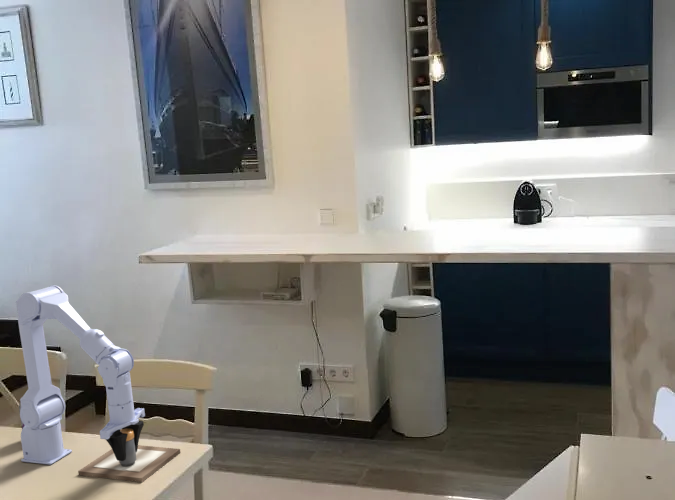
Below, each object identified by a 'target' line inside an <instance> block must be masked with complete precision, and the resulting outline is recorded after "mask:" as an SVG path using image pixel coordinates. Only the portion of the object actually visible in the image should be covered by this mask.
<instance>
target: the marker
mask: <svg viewBox="0 0 675 500" xmlns="http://www.w3.org/2000/svg"><path fill="white" fill-rule="evenodd" d="M120 432H122V433H127V434H128V435H127V439H126V460H124V461H119V463H120V464H121V466H123V467H128V466H132V465H134V464H135V461H136V451H135V443H134V431H133V429H121V430H120Z"/></svg>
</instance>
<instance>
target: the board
mask: <svg viewBox="0 0 675 500" xmlns="http://www.w3.org/2000/svg"><path fill="white" fill-rule="evenodd" d="M179 454H181V449H180V448H173V447H172V448H171V447H162V446H161V447H160V446H152V445H140V444H138V449H137V452H136V461H135V464H134V465H132V466H128V467H123V466H121V464H120V463H119V461H118V460H117V459H116V457H115V454H114V452H113V450H112V448H110V449H109V450H108V451H106V452H105V453H103V454H102V455H100V456H99V457H97V458H96V459H94V460H93V461H91V462H90V463H88V464H86V465H85V466H84V467H82V468H81V469H79V470H78V471H77V474H78V476H83V477H93V478H100V479H101V478H102V479H103V478H104V479H110V480H111V479H112V480H120V481H128V482H135V483H136V482H137V483H143V482H145V481H146V480H148V479H149V478H150V477H151V476H153V474H156V473H157V471H159V470H160V469H162V467H164V466H165V465H167V464H168V463H169V462H171V460H173V459H175V458H176V457H177V456H178V455H179Z"/></svg>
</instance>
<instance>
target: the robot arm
mask: <svg viewBox="0 0 675 500" xmlns="http://www.w3.org/2000/svg"><path fill="white" fill-rule="evenodd" d="M69 301H70V299H69V296H68V294H67V293H65V291H64V290H63V288H61V287H60V286H58V285H54V284H52V285H49V286H47V287H44V288H39V289H36V290H32V291H28V292H27V291H26V292H23V293H22V294H21V295H20V296H19V297H18V298H17V300H16V301H15V303H16V304H15V305H16V309H17V310H16V312H17V316H18V317H17V322H18V329H19V336H20V342H21V343H20V344H21V349H22V356H23V361H24V363H23V364H24V369H25V374H26V375H25V376H26V381H27V387H28V388H27V390H26V392H25V393H24V394H23V396H21V397H20V398H21V410H20V412H19V417H20V418H21V419H20V418H19V419H20V422H21V421H22V422H23V424H24V425H25V426H24V427H23V429H22V428H21V431H20V432H21V433H20V442H21V449H22V456H23V458H22V459H20V460H21V462H24V463H32V464H39V465H40V464H43V465H53V464H54V463H56V462H58V461H59V460H61V459H62V458H64V457H66V456H68V455H69V454H70V453H72V452H73V450H72V449H69V448H64V447H65V446H64V441H63V440H64V439H63V435H62V434H63V433H62V425H61V421H62V419H63V417H62V415H63V414H65V410H66V402H65V399H64V398H63V396H62V394H61V393H62V392H61V389H60V388H59V387H58V386H55V385H54V384H53V383H52V377H51V376H52V375H51V370H50V364H49V363H50V362H49V357H48V350H47V349H48V348H47V343H46V337H45V331H44V323H45V322H46V321H47V320H57V321H58V322H59V323H61V324H62V325H63V326H64V327H65V328H66V329H67V330H69V331H70V332H71V333H72V334H73V335H74V336H76V337H77V338H78V339H79V347H80V348H81V349H82V350H83V351H84V352H85V353H86V355H88V356H89V357H90V358H91V359H92V360H93V361H94V362H95V363H96V365H98V367H97V368H96V369H97V371H98V374H99V375H100V377H101V378H102V382H103V385H104V386H105V391H106V397H107V408H108V415H109V421H108V422H107V423H106V425H105V426H104V427H103V428H101V430H99V437H100V439H101V440H105V441H106V443H108V445H109V447H110V449H112V450H113V452H114V454H115V457H116V459H117V460H118V461H124V460H126V439H127V435H128V434H127V433H122V432H120V430H122V429H133V431H134V443H135V451H136V452H137V449H138V445H139V440H140V436H141V433H142V430H143V427H144V426H145V423H144V421H143V420H140V418H144V417H146V413H145V408H144V407H143V408H142V407H141V408H140V407H137V408H135V407H134V406H135V405H134V397H133V389H132V382H131V381H132V380H131V373H130V372H131V371H132V370H133V369H134V365H135V361H134V357H133V355H132V353H131V352H130V351H129V350H128V349H126V348H123V347H122V348H121V347H120V346H116V345H115V344H114V343H113V342H112V341H111V340H110V339H109V338H108V337H107V336H106V335H105V333H104V332H103V331H102V330H100V329H98V328H91V327H90V326H89V325H88V324H87V323H86V322H85V320H84V319H83V318H82V316H81V315H79V313H78V311H76V310H75V308H74V307H73V306H72V305H71V304H70V303H69Z"/></svg>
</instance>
